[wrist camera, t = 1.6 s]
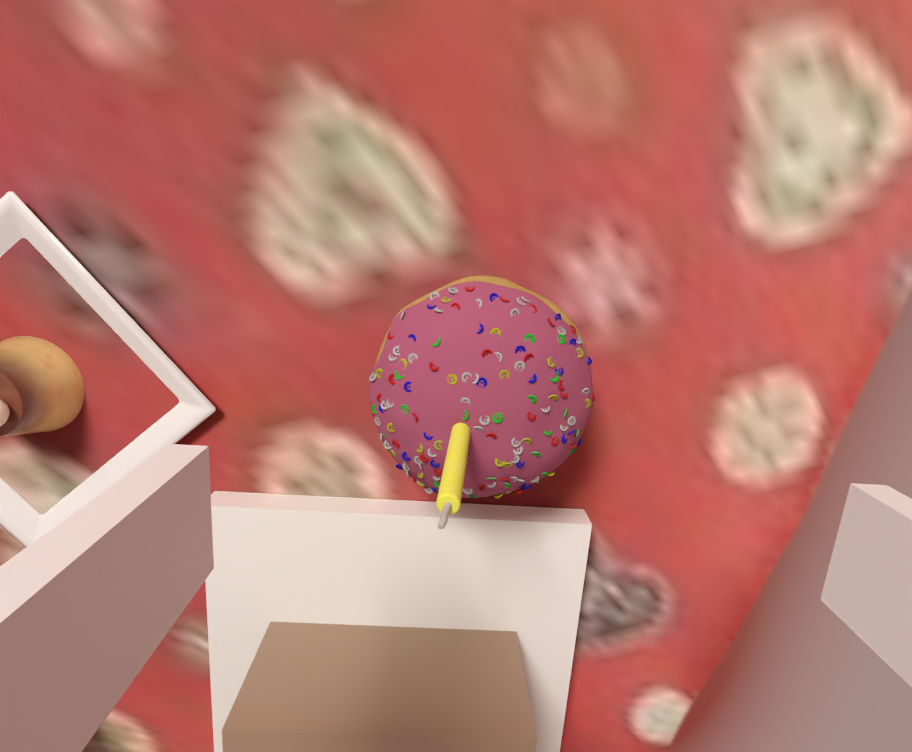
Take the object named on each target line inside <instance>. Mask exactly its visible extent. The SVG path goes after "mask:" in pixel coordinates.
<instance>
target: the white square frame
mask: <svg viewBox="0 0 912 752" xmlns="http://www.w3.org/2000/svg"><path fill="white" fill-rule="evenodd" d="M21 238H26V239H27V240H28V241H29V242H30V243H31V244H32V245H33V246H34V247H35V248H36V249H37V250H38V251H39V252H40V253H41V254H42V255H43V256H44V258H45V259H46V260H47V261H48V262H49V263H50V264H51V265H52V266H53V267H54V268H55V269H56V270H57V271H58V272H59V273H60V274H61V275H62V276H63V278H64V279H65V280H66V281H67V282H68V283H69V284H70V285H71V286H72V287H73V288H74V289H75V290H76V291H77V292H78V293H79V294H80V295H81V296H82V298H83V299H84V300H85V301H86V302H87V303H88V304H89V305H90V306H91V307H92V308H93V309H94V310H95V311H96V312H97V313H98V314H99V315H100V316H101V317H102V319H103V320H104V321H105V322H106V323H107V324H108V325H109V326H110V327H111V328H112V329H113V330H114V331H115V332H116V333H117V334H118V335H119V336H120V337H121V339H122V340H123V341H124V342H125V343H126V344H127V345H128V346H129V347H130V348H131V349H132V350H133V351H134V352H135V353H136V354H137V355H138V356H139V357H140V359H141V360H142V361H143V362H144V363H145V364H146V365H147V366H148V367H149V368H150V369H151V370H152V371H153V372H154V373H155V374H156V375H157V376H158V377H159V379H160V380H161V381H162V382H163V383H164V384H165V385H166V386H167V387H168V388H169V389H170V390H171V391H172V392H173V393H174V394H175V395H176V396H177V397H178V399H179V403H178V405H176V406H175V407H174V408H173V409H172V410H170V411H169V412H168V413H167V414H165V415H164V416H163V417H162V418H161V419H159V420H158V421H157V422H156V423H154V424H153V425H152V426H151V427H150V428H148V429H147V430H146V431H145V432H143V433H142V434H141V435H140V436H139V437H137V438H136V439H135V440H134V441H132V442H131V443H130V444H129V445H128V446H126V447H125V448H124V449H123V450H122V451H120V452H119V453H118V454H117V455H115V456H114V457H113V458H112V459H111V460H109V461H108V462H107V463H106V464H104V465H103V466H102V467H101V468H100V469H98V470H97V471H96V472H95V473H93V474H92V475H91V476H90V477H89V478H87V479H86V480H85V481H84V482H82V483H81V484H80V485H79V486H78V487H76V488H75V489H74V490H73V491H72V492H70V493H69V494H68V495H67V496H65V497H64V498H63V499H62V500H61V501H59V502H58V503H57V504H56V505H54V506H53V507H52V508H51V509H50V510H48V511H47V512H46V513H45V514H42V515H41V514H39V513H38V512H37V511H36V510H34V509H33V508H32V507H31V506H30V505H29V504H28V503H27V502H26V501H25V500H24V499H22V498H21V497H20V496H19V495H18V494H17V493H16V492H15V491H14V490H13V489H11V488H10V487H9V486H8V485H7V484H6V483H5V482H4V481H3V480H2V479H1V478H0V525H1V526H2V527H3V528H4V529H5V530H6V531H7V532H9V533H10V534H11V535H12V536H13V537H14V538H15V539H16V540H18V541H19V542H20V543H21V544H22V545H23V546H24V547H25V548H26V547H28V546H29V545H31V544H32V543H33V542H35V541H36V540H38V539H39V538H40V537H42V536H43V535H44V534H46V533H47V532H49V531H50V530H51V529H53V528H54V527H56V526H57V525H58V524H60V523H61V522H62V521H64V520H65V519H67V518H68V517H69V516H71V515H72V514H73V513H75V512H76V511H78V510H79V509H80V508H82V507H83V506H85V505H86V504H87V503H89V502H90V501H91V500H93V499H94V498H96V497H97V496H98V495H100V494H101V493H102V492H104V491H105V490H107V489H108V488H109V487H111V486H112V485H114V484H115V483H116V482H118V481H119V480H120V479H122V478H123V477H125V476H126V475H127V474H129V473H130V472H132V471H133V470H134V469H136V468H137V467H138V466H140V465H141V464H143V463H144V462H145V461H147V460H148V459H149V458H151V457H152V456H154V455H155V454H156V453H158V452H159V451H161V450H162V449H163V448H165V447H166V446H167V445H169V444H176V443H177V442H178V441H179V440H181V439H182V438H183V437H184V436H186V435H187V434H188V433H189V432H191V431H192V430H193V429H194V428H195V427H197V426H198V425H199V424H200V423H202V422H203V421H204V420H205V419H207V418H208V417H209V416H210V415H212V414H213V413H214V412H215V410H216V408H215V407H214V406H213V404H212V403H211V402H210V401H209V400H208V399H207V398H206V397H205V396H204V395H203V394H202V393H201V392H200V391H199V390H198V388H197V387H196V386H195V385H194V384H193V383H192V382H191V381H190V380H189V379H188V378H187V377H186V376H185V375H184V374H183V372H182V371H181V370H180V369H179V368H178V367H177V366H176V365H175V364H174V363H173V362H172V361H171V360H170V359H169V358H168V356H167V355H166V354H165V353H164V352H163V351H162V350H161V349H160V348H159V347H158V346H157V345H156V344H155V343H154V342H153V340H152V339H151V338H150V337H149V336H148V335H147V334H146V333H145V332H144V331H143V330H142V329H141V328H140V327H139V326H138V324H137V323H136V322H135V321H134V320H133V319H132V318H131V317H130V316H129V315H128V314H127V313H126V312H125V311H124V310H123V309H122V307H121V306H120V305H119V304H118V303H117V302H116V301H115V300H114V299H113V298H112V297H111V296H110V295H109V294H108V293H107V291H106V290H105V289H104V288H103V287H102V286H101V285H100V284H99V283H98V282H97V281H96V280H95V279H94V278H93V277H92V275H91V274H90V273H89V272H88V271H87V270H86V269H85V268H84V267H83V266H82V265H81V264H80V263H79V262H78V261H77V259H76V258H75V257H74V256H73V255H72V254H71V253H70V252H69V251H68V250H67V249H66V248H65V247H64V246H63V245H62V243H61V242H60V241H59V240H58V239H57V238H56V237H55V236H54V235H53V234H52V233H51V232H50V231H49V230H48V229H47V228H46V226H45V225H44V224H43V223H42V222H41V221H40V220H39V219H38V218H37V217H36V216H35V215H34V214H33V213H32V212H31V210H30V209H29V208H28V207H27V206H26V205H25V204H24V203H23V202H22V201H21V200H20V199H19V198H18V197H17V196H16V194H15V193H14V192H11V191H10V192H7V193H6V194H5V195H4V196H3V197H2V198H1V199H0V257H1V256H2V255H3V254H4V253H5V252H7V251H8V250H9V249H10V248H11V247H12V246H13V245H14V244H15V243H16V242H17V241H18V240H20V239H21ZM83 401H84V383H83V379H82V376H81V374H80V372H79V370H78V368H77V366H76V364H75V363H74V362H73V360H72V359H71V358H70V357H69V356H68V355H67V354H66V353H65V352H64V351H63V350H62V349H60V348H59V347H57V346H56V345H54V344H52V343H51V342H48V341H46V340H43V339H40V338H37V337H31V336H17V337H12V338H8V339H5V340H3V341H1V342H0V437H2V436H12V435H20V434H28V433H37V432H49V431H54V430H58V429H60V428H63V427H65V426H66V425H68V424H69V423H70V422H72V421H73V420H74V419H75V418H76V416H77V415H78V414H79V412H80V410H81V408H82V405H83Z"/></svg>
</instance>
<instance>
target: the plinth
mask: <svg viewBox="0 0 912 752" xmlns="http://www.w3.org/2000/svg"><path fill="white" fill-rule="evenodd" d="M211 514H212V536H213V559H214V569H213V570H212V572H211V573H210V574H209V576H208V577H207V579H206V580H205V581H206V600H207V620H208V640H209V659H210V679H211V699H212V718H213V738H214V752H560V747H561V740H562V733H563V726H564V719H565V712H566V705H567V698H568V691H569V684H570V677H571V670H572V662H573V655H574V648H575V641H576V634H577V627H578V620H579V613H580V606H581V599H582V592H583V585H584V578H585V571H586V564H587V557H588V550H589V543H590V536H591V529H592V524H591V522H590V520H589V518H588V516H587V514H586V512H585V510H584V509H569V508H549V507H529V506H509V505H489V504H469V503H461V505H460V508H459V510H458V511H457V512H456V513H454V514H451V515H448V521H447V524H446V526H445V527H444V528H443V529H439V528H438V523H439V520H440V516H441V512H440V511H439V510H438V508H437V505H436V502H428V501H408V500H388V499H368V498H348V497H327V496H307V495H287V494H267V493H247V492H227V491H214V493H213V494H212V495H211Z"/></svg>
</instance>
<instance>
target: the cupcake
mask: <svg viewBox="0 0 912 752" xmlns="http://www.w3.org/2000/svg"><path fill="white" fill-rule="evenodd" d="M589 361H590V362H589ZM591 363H592V360H591V359H590V358H589V356H588V351H587V348H586V345H585V342H584V340H583V338H582V336H581V334H580V332H579V330H578V329H577V327H576V326H575V324H574V323H573V321H572V320H571V319H570V317H569V316H568V315H567V314H566V313H565V312H564V311H563V310H562V309H561V308H559V307H558V306H557V305H555V304H554V303H552V302H551V301H549V300H548V299H546V298H544V297H542V296H540V295H538V294H536V293H534V292H532V291H530V290H528V289H525V288H523V287H521V286H519V285H517V284H515V283H513V282H511V281H509V280H507V279H504V278H500V277H493V276H471V277H466V278H463V279H459V280H457V281H454V282H452V283H450V284H447V285H445V286H443V287H441V288H439V289H437V290H435V291H433V292H431V293H429V294H427V295H425V296H423V297H421V298H420V299H418V300H416V301H414V302H412V303H410V304H409V305H407V306H406V307H404V308H403V309H401V310H400V311H399V312H398V314H397V315H396V316H395V318H394V320H393V321H392V323H391V325H390V327H389V330H388V332H387V334H386V336H385V338H384V341H383V343H382V345H381V348H380V351H379V354H378V357H377V360H376V364H375V366H374V369H373V371H372V373H371V375H370V377H369V380H370V383H369V393H370V403H371V412H372V414H373V418H374V422H375V424H376V427H377V429H378V432H379V434H380V440H381V442H382V440H383V442H384V447H385V448H386V449H388V451H389V452H390V454H391V455H392V456H393V458H394V459H395V460H396V461H397V463H398V464H397V465H396V467H397V468H399V469H402V470H404V471H405V472H406V473H407V477H408V478H409V477H412V478H413V480H414V482H416V481H417V483H418V484H419V485H420V486H425V491H426V492H427V493H429V494H432V493H433V491H434V492H436V491H438V492H437V493H438V496H437V501H436V505H437V508H438V510H439V511H440V512H441V516H440V520H439V523H438V528H439V529H443V528H444V527H445V526H446V524H447V521H448V515H451V514H454V513H456V512H457V511H458V510H459V508H460V505H461V498H478V497H487V496H493V495H494V497H495V498H500V497H501V496H502V495H503V493H506V494H507V493H510V492H512V491H515V492H516V493H522V492H523V491H524V490H526V489H528V488H530V487H531V484H533V483H539V480H540V479H542V478H543V477H545V476H553V475H554V474H555V472H553V471H554V470H555V469H556V468H558V467H559V466H560V465H562V464H563V463H564V461H565V460H566V459H567V458H568V456H569V455H570V454H572V453H573V452H574V451H575V446H576V447H577V446H579V445H580V444H581V439H580V438H581V435H582V433H583V431H584V429H585V427H586V425H587V423H588V420H589V418H590V415H591V412H592V407H593V401H595V397H594V394H593V391H592V377H591V367H590V364H591ZM578 441H579V442H578ZM577 443H578V444H577ZM398 466H399V467H398ZM400 467H401V468H400ZM415 480H416V481H415ZM525 487H526V488H525ZM427 488H429V489H431V491H430V490H429V489H427ZM428 490H429V491H430V492H428ZM519 490H521V491H519ZM498 495H500V496H498Z"/></svg>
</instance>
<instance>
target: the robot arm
mask: <svg viewBox="0 0 912 752" xmlns="http://www.w3.org/2000/svg"><path fill="white" fill-rule="evenodd" d="M213 569H214V559H213V536H212V514H211V491H210V469H209V446H198V445H181V444H169V445H167V446H166V447H165V448H163V449H162V450H161V451H159V452H158V453H156V454H155V455H154V456H152V457H151V458H149V459H148V460H147V461H145V462H144V463H143V464H141V465H140V466H138V467H137V468H136V469H134V470H133V471H132V472H130V473H129V474H127V475H126V476H125V477H123V478H122V479H120V480H119V481H118V482H116V483H115V484H114V485H112V486H111V487H109V488H108V489H107V490H105V491H104V492H102V493H101V494H100V495H98V496H97V497H96V498H94V499H93V500H91V501H90V502H89V503H87V504H86V505H85V506H83V507H82V508H80V509H79V510H78V511H76V512H75V513H73V514H72V515H71V516H69V517H68V518H67V519H65V520H64V521H62V522H61V523H60V524H58V525H57V526H56V527H54V528H53V529H51V530H50V531H49V532H47V533H46V534H44V535H43V536H42V537H40V538H39V539H38V540H36V541H35V542H33V543H32V544H31V545H29V546H28V547H26V548H25V549H24V550H22V551H21V552H20V553H18V554H17V555H15V556H14V557H13V558H11V559H10V560H9V561H7V562H6V563H4V564H3V565H2V566H0V752H82V751H83V749H84V748H85V747H86V745H87V744H88V742H89V741H90V740H91V738H92V737H93V735H94V734H95V733H96V731H97V730H98V728H99V727H100V726H101V724H102V723H103V722H104V720H105V719H106V717H107V716H108V715H109V713H110V712H111V710H112V709H113V708H114V706H115V705H116V703H117V702H118V701H119V699H120V698H121V697H122V695H123V694H124V692H125V691H126V690H127V688H128V687H129V685H130V684H131V683H132V681H133V680H134V678H135V677H136V676H137V674H138V673H139V672H140V670H141V669H142V667H143V666H144V665H145V663H146V662H147V660H148V659H149V658H150V656H151V655H152V653H153V652H154V651H155V649H156V648H157V647H158V645H159V644H160V642H161V641H162V640H163V638H164V637H165V635H166V634H167V633H168V631H169V630H170V628H171V627H172V626H173V624H174V623H175V622H176V620H177V619H178V617H179V616H180V615H181V613H182V612H183V610H184V609H185V608H186V606H187V605H188V603H189V602H190V601H191V599H192V598H193V597H194V595H195V594H196V592H197V591H198V590H199V588H200V587H201V585H202V584H203V583H204V581H205V580H206V579H207V577H208V576H209V574H210V573H211V572H212V570H213ZM821 601H823V603H825V604H826V605H827V606H828V607H829V608H830V609H831V610H832V611H833V612H834V613H835V614H836V615H837V616H838V617H839V618H840V619H841V620H842V621H843V622H844V623H845V624H846V625H847V626H848V627H849V628H851V629H852V630H853V631H854V632H855V633H856V634H857V635H858V636H859V637H860V638H861V639H862V640H863V641H864V642H865V643H866V644H867V645H868V646H869V647H870V648H871V649H872V650H873V651H874V652H875V653H876V654H877V655H878V656H879V657H881V658H882V659H883V660H884V661H885V662H886V663H887V664H888V665H889V666H890V667H891V668H892V669H893V670H894V671H895V672H896V673H897V674H898V675H899V676H900V677H901V678H903V680H904V681H905V682H906V683H908V684H909V685H910V686H911V687H912V499H910V498H909V497H907V496H905V495H903V494H901V493H899V492H898V491H896V490H894V489H892V488H891V487H889V486H887V485H871V484H853V483H851V484H850V488H849V492H848V496H847V500H846V504H845V507H844V511H843V515H842V519H841V523H840V526H839V530H838V534H837V538H836V542H835V546H834V549H833V554H832V557H831V561H830V565H829V569H828V573H827V576H826V580H825V584H824V588H823V592H822V595H821Z"/></svg>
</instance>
